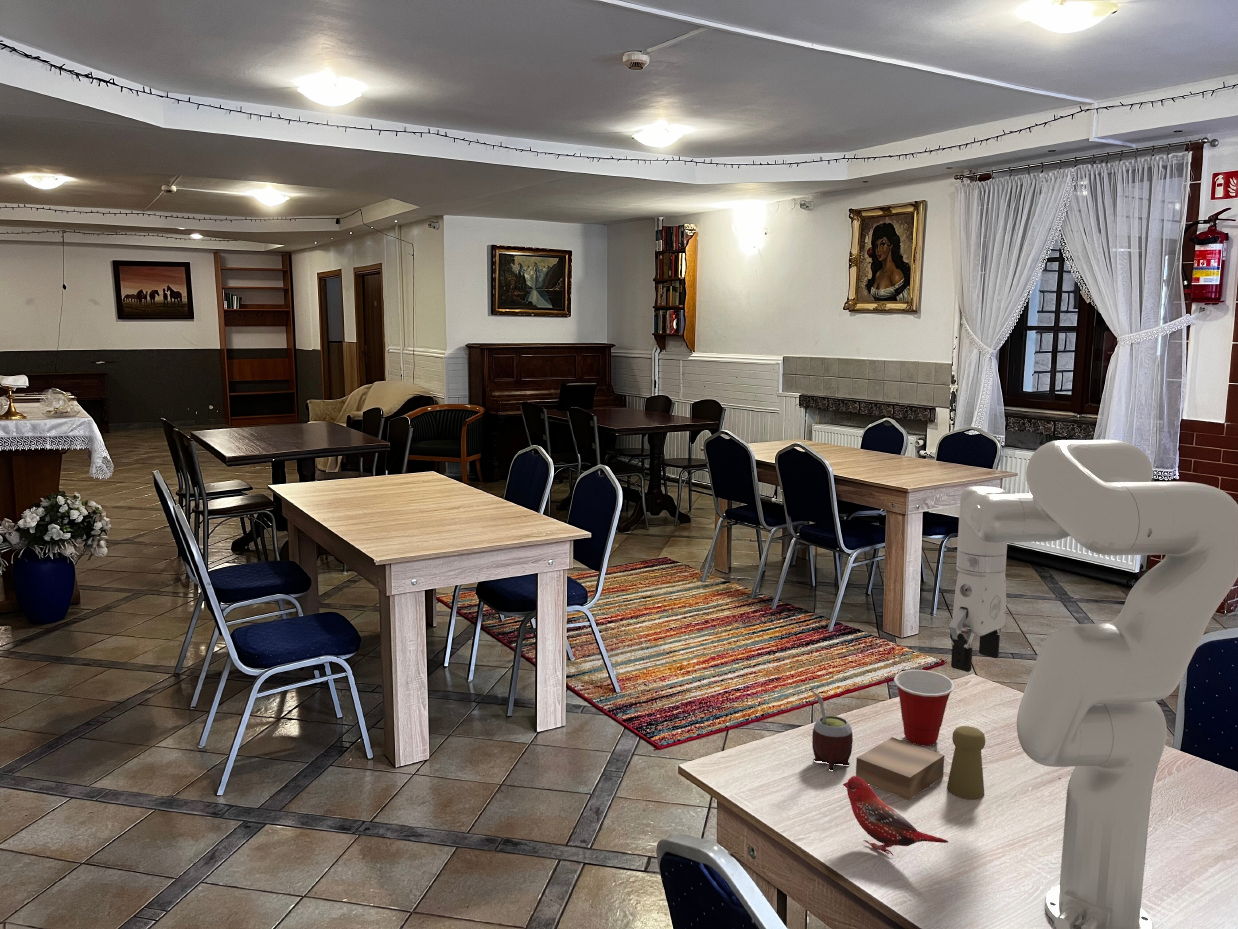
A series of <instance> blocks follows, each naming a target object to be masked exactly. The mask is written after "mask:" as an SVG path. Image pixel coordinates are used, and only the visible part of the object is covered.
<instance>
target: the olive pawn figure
mask: <svg viewBox="0 0 1238 929" xmlns="http://www.w3.org/2000/svg"><path fill="white" fill-rule="evenodd" d="M951 738H952V740H951V741H952V744H953V745H954V750H953V757H952V760H951V765H950V770H949V775H948V779H947V780H948V781H947V784H946V790H947V792H948V793H949V794H950V795H952V796H955V797H956V798H959V799H963V800H969V801H975V800H976V801H977V800H981V799H982V798H984V797H985V784H984V772H983V771H984V769H983V768H984V767H983V758H982V751H983V749H984V748H985V745H986V736H985V734H984V733H983V731H982V730H981V729H979V728H977V727H974V726H969V725H961V726H958V727H956V728H955V729H954V730H953V732H952V737H951Z"/></svg>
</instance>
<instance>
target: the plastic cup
mask: <svg viewBox="0 0 1238 929" xmlns="http://www.w3.org/2000/svg"><path fill="white" fill-rule="evenodd" d="M893 680H894V682H895V683H894V684H895V685H896V687H897V692H898V696H899V705H900V713H901V720H902V724H903V733H904V738H905V737H906V738H905V739H907V740H908V742H909V741H910V742H911V744H913V743H914V745H916V744H918V745H917V746H921V745H923V747H929V746H934V745H936V744H937V741H938V738H939V735H940V730H941V727H942V723H943V720H944V716H945V712H946V708H947V703H948V700H949V697H950V695H951V694H952V692H953V690H954V688H955V684H954V682H953V680H952V679H950V678H949V677H948V676H946V675H944V674H942V673H941V674H940V673H938V672H936V671H932V670H931V671H930V670H924V669H909V670H903V671H901V672H899V673H896V675H895V677H894V678H893ZM907 740H906V741H907ZM910 742H909V743H910ZM933 744H934V745H933Z"/></svg>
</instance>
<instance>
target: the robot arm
mask: <svg viewBox="0 0 1238 929" xmlns="http://www.w3.org/2000/svg"><path fill="white" fill-rule="evenodd" d="M1153 472H1154V468H1153V465H1152V461H1151V460H1150V457H1149V456H1148V455H1147V454H1146V453H1145V451H1143V450H1142V449H1141V448H1139V447H1138V446H1136V445H1134V444H1132V443H1130V442H1126V441H1121V440H1118V439H1117V440H1116V439H1086V440H1085V439H1067V440H1066V439H1061V440H1052V441H1049V442H1046V443H1045V444H1042V445H1041V446H1039V447H1038V448H1037V449H1036V450H1035V451H1034V452H1033V453H1032V455H1031V457H1030V458H1029V460H1028V463H1027V466H1026V472H1025V475H1026V476H1025V477H1026V478H1025V479H1026V483H1027V488H1028V491H1029V493H1008V491H1006V490H1005V489H1002V488H1000V487H994V486H987V485H985V486H981V485H978V486H977V485H976V486H975V485H974V486H968V487H966V488H964V489H963V490H962V491H961V493H960V499H959V511H958V512H959V513H958V514H959V515H958V531H957V532H958V534H957V551H956V552H957V553H956V566H955V568H956V569H955V570H956V571H958V572H957V577H956V583H955V584H956V585H955V589H954V590H955V591H954V598H953V608H952V619H951V621H950V622H949V624H948V628H949V632H950V633H949V638H950V644H951V659H950V660H951V661H950V663H951V664H950V666H951V668H952V669H955V670H958V671H962V672H966V673H970V672H971V671H972V663H973V649H974V648H973V647H971V645H972V642H973V640H974V637H975V635H977V636H979V644H978V645H979V646H978V654H980V656H981V655H982V656H985V657H988V658H993V659H997V658H998V657H999V656H1000V653H999V652H1000V641H1001V640H1000V639H1001V638H1000V637H1001V635H1000V634H1001V633H1002V627H1004V625H1005V624H1006V618H1007V580H1006V569H1007V568H1006V566H1007V550H1008V543H1012V544H1013V543H1047V542H1055V541H1060V540H1063V539H1067V538H1069V537H1071V538H1072V539H1073V540H1074V541H1075V542H1076V543H1078V545H1080V546H1081V547H1082V548H1084V549H1086V550H1088V551H1090V552H1092V553H1093V554H1094V553H1095V554H1098V555H1103V556H1113V557H1114V556H1152V555H1153V556H1154V555H1157V556H1158V555H1165V556H1164V558H1163V559H1162V560H1160V562H1159V563H1157V564H1156V565H1155V566H1153V567H1152V568H1151V569H1149V570H1148V571H1147V572H1145V573H1144V574H1143V575H1142V576H1141V577H1140V578H1139V579H1138V580H1137V581H1136V582H1135V584H1134V585H1133V587H1131V589H1130V591H1129V593H1128V595H1127V597H1126V600H1125V601H1124V602H1125V603H1124V604H1123V607H1122V609H1121V611H1120V613H1119V614H1118V616H1117V617H1116V618H1114V619H1113V620H1110V621H1108V622H1103V623H1079V624H1071V625H1070V624H1069V625H1065V626H1062V627H1059V628H1058V629H1056V630H1055V631H1053V632H1052V633H1051V634H1049V635H1048V637H1047V638H1046V639H1045V640H1044V642H1043V644H1042V645H1041V648H1040V650H1039V652H1038V655H1037V657H1036V660H1035V663H1034V665H1033V668H1032V670H1031V673H1030V676H1029V679H1028V682H1027V684H1026V687H1025V689H1024V692H1023V694H1022V697H1021V700H1020V703H1019V707H1018V710H1017V711H1018V712H1017V717H1016V734H1017V738H1018V742H1019V744H1020V747H1021V748H1022V750H1023V751H1024V754H1026V755H1027V756H1028V758H1029V759H1030V760H1032V761H1034V762H1035V763H1037V764H1040V765H1042V766H1046V767H1053V768H1068V767H1071V768H1072V767H1074V769H1073V770H1072V772H1071V774H1070V777H1069V779H1068V784H1067V788H1066V798H1065V800H1066V801H1065V812H1064V825H1063V837H1062V838H1063V839H1062V850H1061V861H1060V862H1061V865H1060V874H1059V875H1060V877H1059V885H1057V886H1055V887H1053V888H1051V889H1049V891H1048V892H1047V893H1046V895H1045V902H1044V907H1045V912H1046V914H1047V915H1048V917H1049V918H1050V919H1051V920H1052V922H1053V923H1054V927H1055V928H1056V929H1154V924H1153V920H1152V919H1151V916H1149V915H1148V913H1147V912H1146V911H1145V910H1144V909H1143V908H1142V899H1143V898H1142V897H1143V887H1144V878H1145V877H1144V876H1145V865H1146V854H1147V845H1148V832H1149V821H1150V815H1151V814H1150V812H1151V803H1152V802H1151V801H1152V795H1153V788H1154V781H1155V778H1156V774H1157V770H1158V768H1159V767H1158V766H1159V764H1160V761H1161V758H1162V756H1163V753H1164V749H1165V745H1166V741H1167V733H1168V731H1167V722H1166V721H1167V720H1166V718H1165V714H1164V712H1163V710H1162V709H1161V706H1160V705H1159V704H1158V702H1157V701H1160V700H1163V699H1165V698H1167V697H1169V696H1170V695H1171V694H1172V693H1174V691H1175V690H1176V688H1177V687H1178V685H1179V684H1180V682H1181V681H1182V678H1183V676H1184V675H1185V672H1186V670H1187V668H1188V667H1189V664H1190V662H1191V660H1192V658H1193V656H1194V654H1195V652H1196V650H1197V647H1198V646H1199V644H1200V642H1201V640H1202V638H1203V636H1204V633H1205V631H1206V628H1207V626H1208V625H1209V623H1210V621H1211V619H1212V618H1213V616H1214V614H1215V613H1216V611H1217V609H1219V606H1220V605H1221V603H1223V601H1224V600H1225V598H1226V597H1227V595H1228V594H1229V592H1230V591H1231V589H1232V588H1233V586H1234V584H1235V583H1236V581H1237V580H1238V503H1237V501H1236V500H1234V499H1233V497H1232V496H1231V495H1230V494H1228V493H1227V492H1225V491H1224V490H1222V489H1220V488H1217V487H1215V486H1212V485H1208V484H1204V483H1200V482H1199V483H1198V482H1189V481H1152V479H1153V477H1154V476H1153V474H1154V473H1153ZM965 635H967V636H966V637H965Z"/></svg>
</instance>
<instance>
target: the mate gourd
mask: <svg viewBox="0 0 1238 929" xmlns="http://www.w3.org/2000/svg"><path fill="white" fill-rule="evenodd" d="M810 692H811V693H812V694H813V695H814V696H816V698H817V701H818V704H819V707H820V711H821V712H820V713H821V717H819V718H818V719H817V720H816V721H815V723H814V724H813V725H814V726H813V728H812V740H811V741H812V745H811V746H812V750H813V755H814V758H813V761H814V760H815V761H822V762H827V763H829V765H828V770H829V769H830V770H833V771H834V768H833V767H835V765H834V764H843V765H849V766H850V762H849V760H850V757H851V754H852V752H853V751H852V750H853V741H854V740H853V739H854V738H853V737H854V736H853V731H852V726H851V725H850V723H849V722H848V721H847V720H846V719H845V718H843V717H840V716H836V715H826V711H825V707H824V700H823V698H822V697H821V696H820V694H819V693H817V692H816V691H814V690H810Z"/></svg>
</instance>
